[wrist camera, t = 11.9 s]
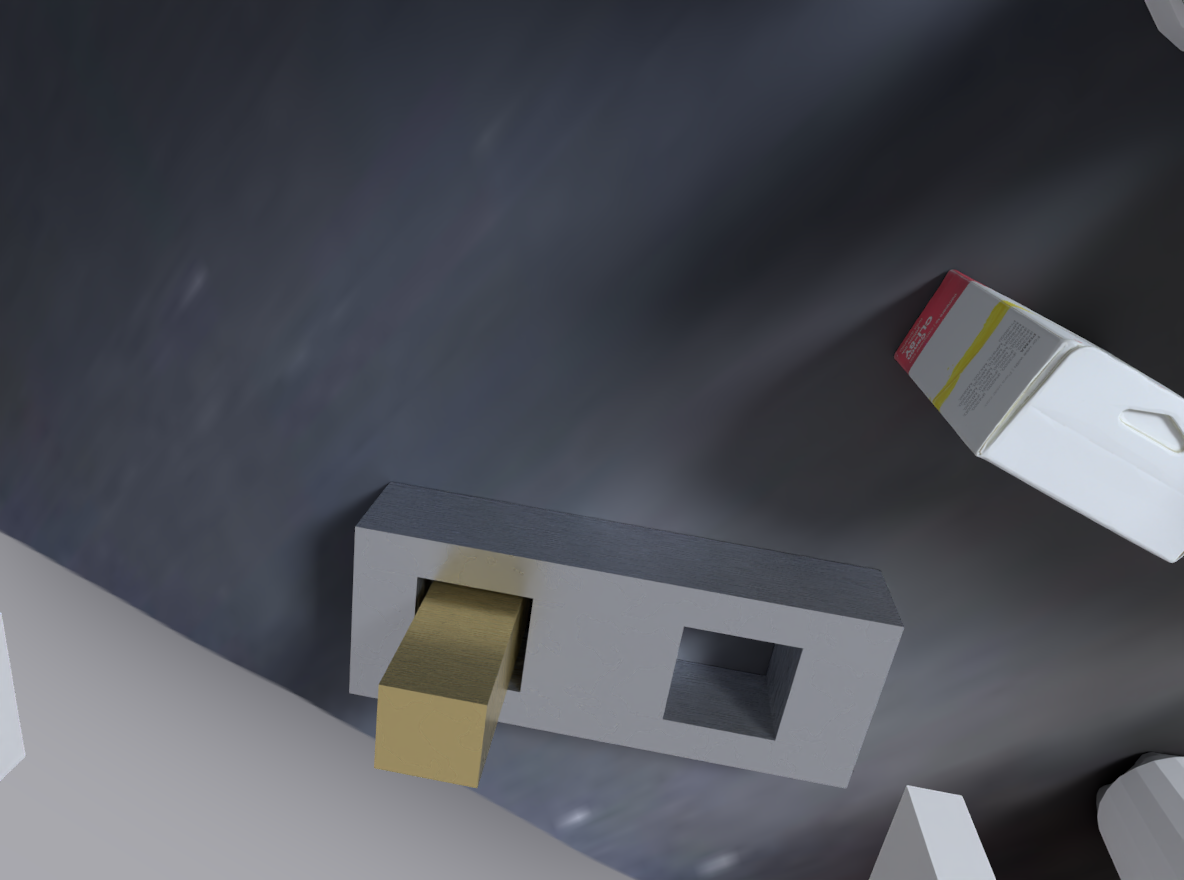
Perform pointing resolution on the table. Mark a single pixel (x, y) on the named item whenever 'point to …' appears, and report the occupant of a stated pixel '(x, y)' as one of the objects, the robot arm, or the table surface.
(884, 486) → the table surface
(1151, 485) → the ink box
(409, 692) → the gold square peg
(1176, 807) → the cup
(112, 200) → the table surface
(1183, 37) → the bottle
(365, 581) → the white peg board
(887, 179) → the table surface
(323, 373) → the table surface
